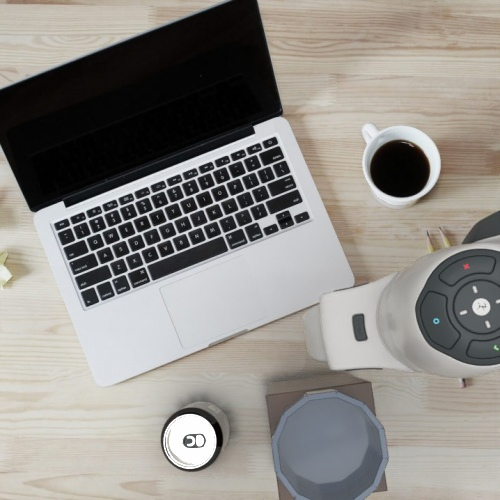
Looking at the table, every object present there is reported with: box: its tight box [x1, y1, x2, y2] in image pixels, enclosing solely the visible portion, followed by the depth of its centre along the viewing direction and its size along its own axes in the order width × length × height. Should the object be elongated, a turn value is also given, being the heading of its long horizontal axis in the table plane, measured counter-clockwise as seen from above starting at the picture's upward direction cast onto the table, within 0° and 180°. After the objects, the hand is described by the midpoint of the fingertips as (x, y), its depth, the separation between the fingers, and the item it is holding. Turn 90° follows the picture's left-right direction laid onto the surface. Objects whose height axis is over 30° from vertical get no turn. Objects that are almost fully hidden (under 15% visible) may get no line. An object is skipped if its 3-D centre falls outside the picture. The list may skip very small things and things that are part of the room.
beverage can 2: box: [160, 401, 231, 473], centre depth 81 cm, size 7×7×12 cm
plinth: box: [265, 372, 388, 500], centre depth 73 cm, size 9×9×27 cm
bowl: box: [270, 388, 390, 500], centre depth 57 cm, size 9×9×5 cm
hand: (404, 324), depth 71 cm, fingers closed on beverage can, 5 cm apart
